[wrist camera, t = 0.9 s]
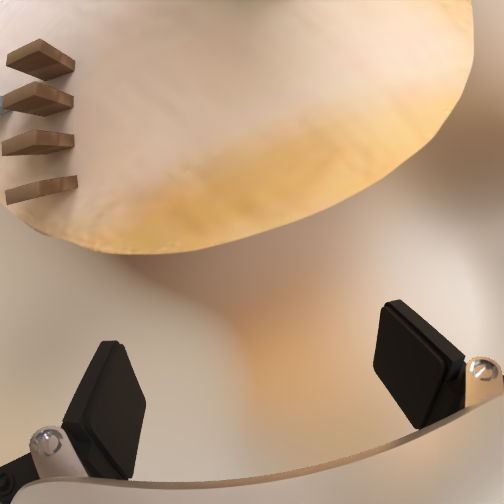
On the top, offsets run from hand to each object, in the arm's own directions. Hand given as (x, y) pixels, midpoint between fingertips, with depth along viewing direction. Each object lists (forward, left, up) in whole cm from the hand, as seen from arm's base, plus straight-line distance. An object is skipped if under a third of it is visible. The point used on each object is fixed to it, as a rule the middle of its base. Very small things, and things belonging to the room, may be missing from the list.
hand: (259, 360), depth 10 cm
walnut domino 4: (-7, -22, -28) cm, 37 cm away
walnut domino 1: (-23, -22, -28) cm, 43 cm away
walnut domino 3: (-12, -22, -28) cm, 38 cm away
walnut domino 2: (-18, -22, -28) cm, 40 cm away
